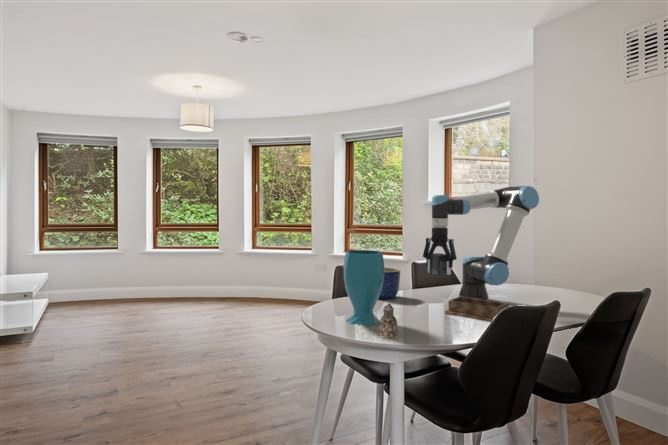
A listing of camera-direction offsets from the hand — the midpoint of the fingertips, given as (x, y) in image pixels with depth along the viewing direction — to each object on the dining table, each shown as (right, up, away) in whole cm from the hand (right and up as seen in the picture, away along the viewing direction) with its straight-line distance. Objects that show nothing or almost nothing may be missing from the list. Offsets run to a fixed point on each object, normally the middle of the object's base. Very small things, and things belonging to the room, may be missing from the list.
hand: (439, 273), depth 217 cm
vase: (-38, -18, -22) cm, 48 cm away
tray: (+15, -18, -10) cm, 26 cm away
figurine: (-30, -19, -44) cm, 56 cm away
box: (0, -1, 0) cm, 1 cm away
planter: (-23, -16, +28) cm, 40 cm away
